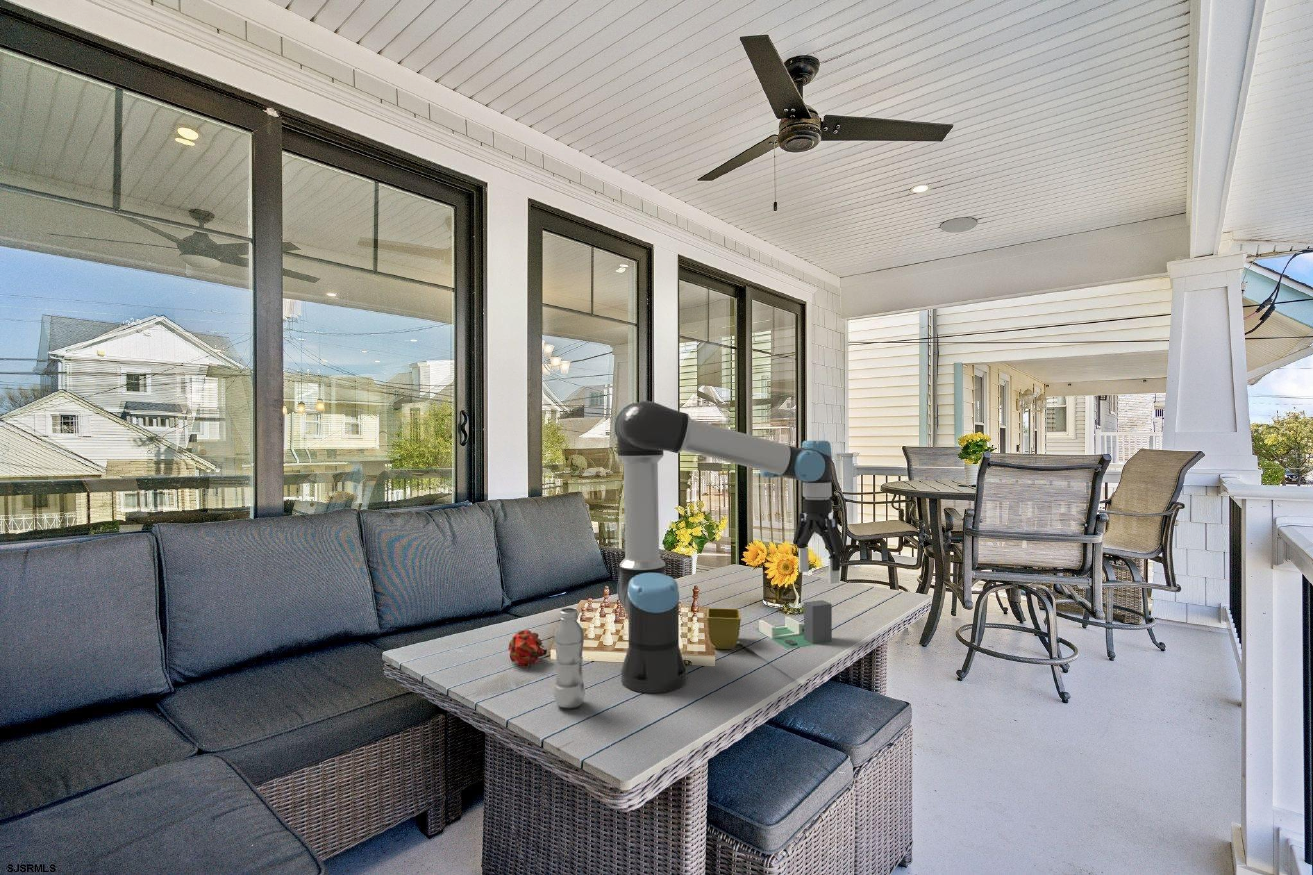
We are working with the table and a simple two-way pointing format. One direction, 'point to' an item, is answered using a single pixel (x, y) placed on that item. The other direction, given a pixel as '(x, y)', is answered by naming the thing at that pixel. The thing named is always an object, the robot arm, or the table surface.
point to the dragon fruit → (526, 648)
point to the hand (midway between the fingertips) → (818, 577)
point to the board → (786, 633)
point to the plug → (817, 621)
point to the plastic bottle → (569, 660)
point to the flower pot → (723, 627)
